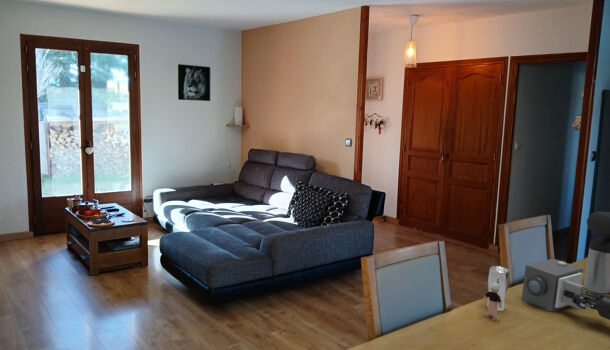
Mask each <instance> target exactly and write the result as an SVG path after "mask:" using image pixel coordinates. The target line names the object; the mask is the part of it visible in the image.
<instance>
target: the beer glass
mask: <svg viewBox="0 0 610 350" xmlns="http://www.w3.org/2000/svg"><path fill="white" fill-rule="evenodd" d="M487 279H488V280H487V287H488V292H492V291H491V289H489V287H490V285H491V284H493V283H498V284H499V286H500V287H499V291H498V292H497V294H498V295H499V296H500V298H501V301H502V302H501V303H502V308H500V307H499V304H498V310H497V312H503V311H505V299H506V298H505V297H506V295H507V292H508V289H509V285H510V284H509V283H510V269H509V268H506V267H503V266H499V265H494V266H493V265H492V266H490V268H489V273H488V278H487ZM488 304H489V299H488V301H487V303H486V308H488Z"/></svg>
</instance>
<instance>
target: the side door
mask: <svg viewBox="0 0 610 350" xmlns="http://www.w3.org/2000/svg"><path fill="white" fill-rule="evenodd" d="M582 280H583V273H577V274H573V275H569V276H566V277H562V278H559V280H558V288H557V295H556V303H555V307H556V308H559V307H562V306H565V305H570V306H569V307H573V308H576V309H580V308H581V307H579V306H578V305H576V304H575V303H573V302H572V301H573V299H571V298H568V297H566V296H564V295H563V294H564V290H568V291H570V292H573V293H575V294H579V295H583V293H585V287H584V284H582ZM579 298H580V297H579ZM581 309H582V308H581Z"/></svg>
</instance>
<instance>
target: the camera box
mask: <svg viewBox="0 0 610 350" xmlns="http://www.w3.org/2000/svg"><path fill="white" fill-rule="evenodd" d="M524 269H525V270H524V277H523V284H522V285H523V286H522V292H521V293H522V294H521V300H522V301H524V302H528V303H530V304H533V306H536V305H537V307H539V308H541V309H544V310H546V311H548V312H551V313H552V312H555V311H558V310H561V309H564V308H568V307H571V306H570V305H565V306H562V307H559V308H556V307H555V303H556V295H557V288H558V280H559V278H562V277H566V276H569V275H573V274H577V273H583V272H584V267H581V266H576V265H574V264H572V263H567V261H566V262H565V261H564V260H559V259H555V258H550V259H545V260H542V261H538V262H532V263H529V264H525V268H524Z"/></svg>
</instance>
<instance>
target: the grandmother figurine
mask: <svg viewBox="0 0 610 350" xmlns="http://www.w3.org/2000/svg"><path fill="white" fill-rule="evenodd" d="M499 287H500V286H499V284H498V283H493V284H491V285H490V287H489V289H491V291H492V292H489V291H487V292H485V293H484V296H483V299H484V300H487V298H488V300H489V304H488V307H487V314H486V315H485V316H486V317H487V318H491V320H493V321H499V320H500V317H499V316H498V311H497V310H498V304H499V307H500V308H502V303H501V302H502V301H501V298H500V296H499V295H498V294H497V292H498V291H499ZM489 289H488V290H489Z"/></svg>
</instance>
